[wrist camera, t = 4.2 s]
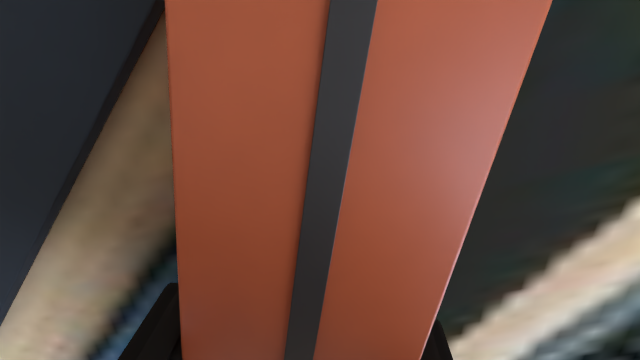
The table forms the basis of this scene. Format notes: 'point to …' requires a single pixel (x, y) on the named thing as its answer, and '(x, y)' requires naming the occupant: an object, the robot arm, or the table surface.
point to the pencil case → (332, 165)
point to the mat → (56, 108)
